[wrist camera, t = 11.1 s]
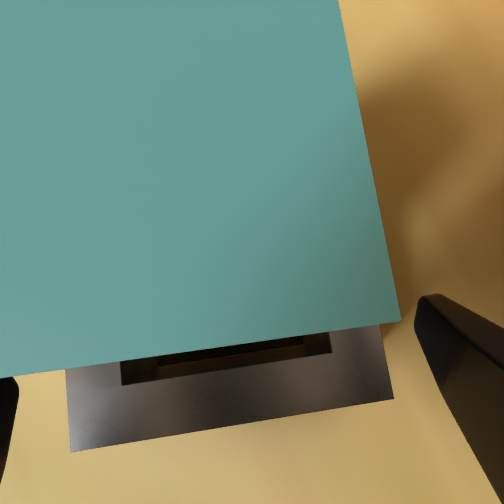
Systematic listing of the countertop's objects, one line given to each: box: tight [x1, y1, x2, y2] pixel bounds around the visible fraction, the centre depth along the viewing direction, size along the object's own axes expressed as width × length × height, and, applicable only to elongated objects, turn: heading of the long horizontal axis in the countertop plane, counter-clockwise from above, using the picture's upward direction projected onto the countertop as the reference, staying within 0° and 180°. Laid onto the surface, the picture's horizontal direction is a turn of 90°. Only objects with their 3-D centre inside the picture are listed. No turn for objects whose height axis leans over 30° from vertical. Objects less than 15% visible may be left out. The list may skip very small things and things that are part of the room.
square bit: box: [0, 0, 402, 378], centre depth 10 cm, size 4×4×13 cm
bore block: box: [65, 324, 394, 452], centre depth 14 cm, size 9×9×5 cm
